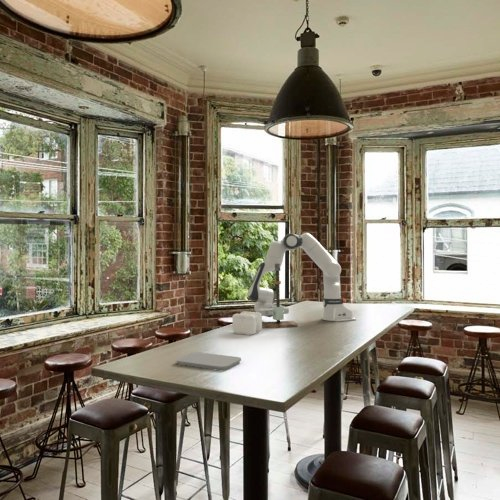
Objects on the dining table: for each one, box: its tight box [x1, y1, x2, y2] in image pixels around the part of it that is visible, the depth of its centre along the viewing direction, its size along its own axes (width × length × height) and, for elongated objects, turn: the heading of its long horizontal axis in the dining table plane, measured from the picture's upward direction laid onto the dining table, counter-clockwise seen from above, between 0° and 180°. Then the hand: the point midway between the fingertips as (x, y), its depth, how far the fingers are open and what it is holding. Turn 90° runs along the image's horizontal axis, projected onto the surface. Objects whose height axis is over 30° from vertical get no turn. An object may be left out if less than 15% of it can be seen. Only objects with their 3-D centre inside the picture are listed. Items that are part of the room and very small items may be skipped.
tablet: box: [175, 351, 242, 371], centre depth 198 cm, size 16×26×2 cm, turn 62°
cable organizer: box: [231, 310, 263, 336], centre depth 262 cm, size 15×11×12 cm
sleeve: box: [272, 305, 285, 321], centre depth 283 cm, size 5×5×8 cm
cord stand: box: [262, 264, 299, 329], centre depth 282 cm, size 22×13×39 cm, turn 99°
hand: (278, 313), depth 282 cm, fingers open, 6 cm apart
